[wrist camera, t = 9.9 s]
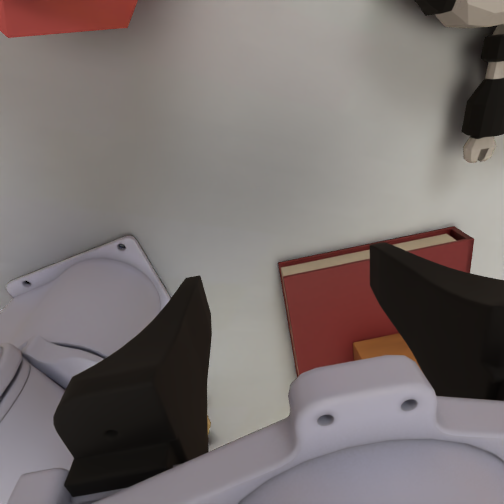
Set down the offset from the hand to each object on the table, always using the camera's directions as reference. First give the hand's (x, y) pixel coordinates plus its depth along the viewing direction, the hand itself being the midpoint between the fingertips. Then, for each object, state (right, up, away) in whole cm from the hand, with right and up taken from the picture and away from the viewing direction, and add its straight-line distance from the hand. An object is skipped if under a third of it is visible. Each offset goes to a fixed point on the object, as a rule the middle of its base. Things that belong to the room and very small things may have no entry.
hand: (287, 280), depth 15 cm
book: (+8, -6, +15) cm, 18 cm away
